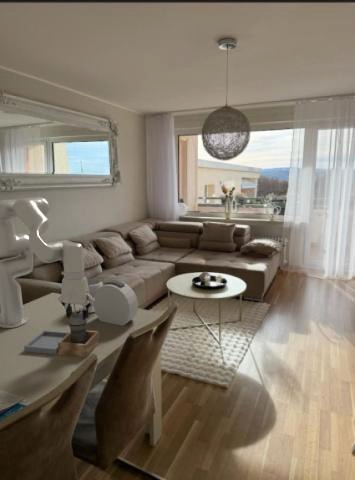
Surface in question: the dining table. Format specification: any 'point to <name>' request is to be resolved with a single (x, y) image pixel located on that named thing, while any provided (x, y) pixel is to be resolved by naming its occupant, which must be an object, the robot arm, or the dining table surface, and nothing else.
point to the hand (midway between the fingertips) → (77, 317)
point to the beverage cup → (78, 327)
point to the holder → (78, 345)
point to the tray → (45, 342)
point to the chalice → (92, 291)
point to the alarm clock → (115, 303)
